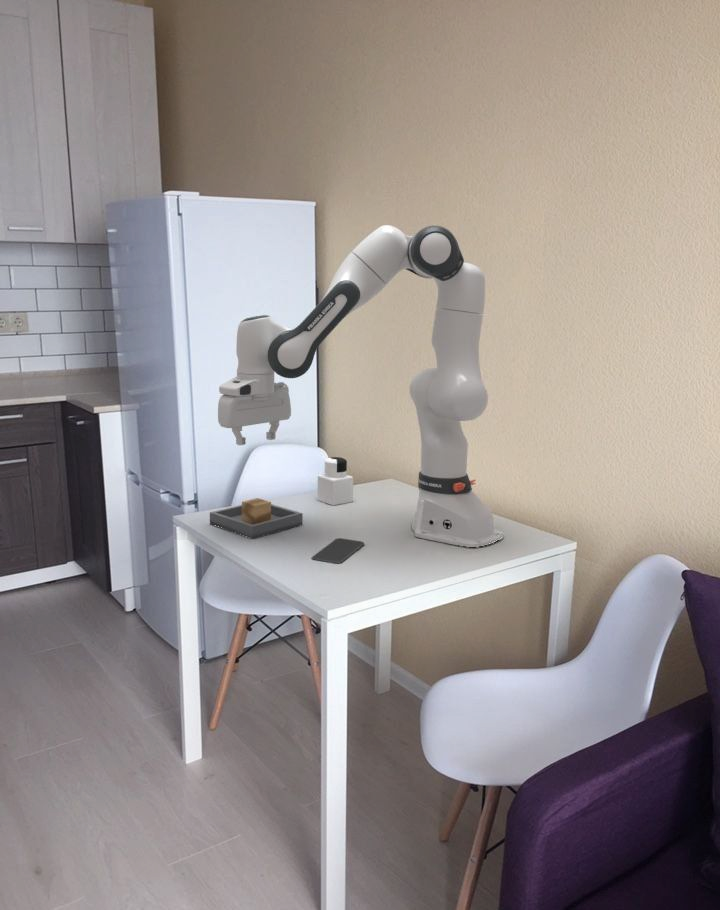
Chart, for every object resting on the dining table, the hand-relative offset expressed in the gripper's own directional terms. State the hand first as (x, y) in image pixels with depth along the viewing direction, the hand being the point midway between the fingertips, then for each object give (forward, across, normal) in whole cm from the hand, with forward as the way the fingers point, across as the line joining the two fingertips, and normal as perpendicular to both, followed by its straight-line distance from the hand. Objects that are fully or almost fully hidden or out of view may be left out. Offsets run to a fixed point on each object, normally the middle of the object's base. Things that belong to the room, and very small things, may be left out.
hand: (256, 442), depth 194 cm
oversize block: (+20, 0, 0) cm, 20 cm away
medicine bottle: (+21, -30, -2) cm, 37 cm away
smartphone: (+21, 0, +28) cm, 35 cm away
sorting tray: (+21, 0, 0) cm, 21 cm away
